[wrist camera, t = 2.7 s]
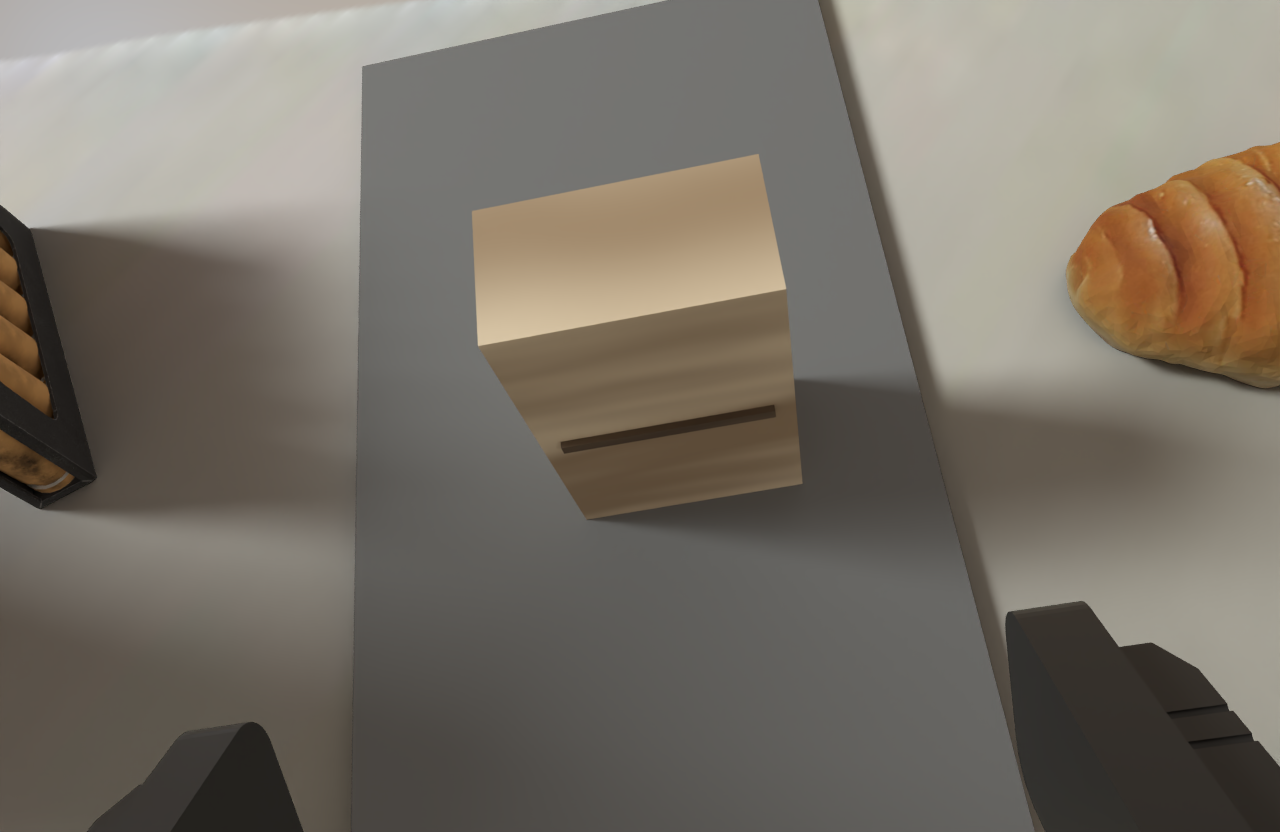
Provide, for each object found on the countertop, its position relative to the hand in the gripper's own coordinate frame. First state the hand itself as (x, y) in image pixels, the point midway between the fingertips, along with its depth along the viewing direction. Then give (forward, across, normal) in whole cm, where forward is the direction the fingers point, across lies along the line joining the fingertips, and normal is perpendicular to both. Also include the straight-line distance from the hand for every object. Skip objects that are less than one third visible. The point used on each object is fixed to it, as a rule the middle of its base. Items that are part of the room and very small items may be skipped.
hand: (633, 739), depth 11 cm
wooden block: (+16, 0, +3) cm, 16 cm away
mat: (+18, +1, +1) cm, 18 cm away
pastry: (+18, -16, +2) cm, 24 cm away
